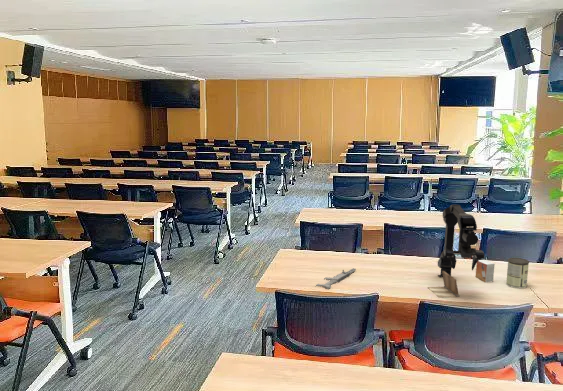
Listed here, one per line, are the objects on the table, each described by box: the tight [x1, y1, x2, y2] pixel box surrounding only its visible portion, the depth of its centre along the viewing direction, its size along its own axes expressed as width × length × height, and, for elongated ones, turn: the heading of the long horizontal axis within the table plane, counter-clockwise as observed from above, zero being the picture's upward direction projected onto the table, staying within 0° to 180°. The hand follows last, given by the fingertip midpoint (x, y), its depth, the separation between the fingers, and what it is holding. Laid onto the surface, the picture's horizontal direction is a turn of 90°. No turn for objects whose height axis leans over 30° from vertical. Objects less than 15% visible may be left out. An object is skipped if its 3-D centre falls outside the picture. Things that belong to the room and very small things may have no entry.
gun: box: [315, 267, 357, 290], centre depth 276 cm, size 36×4×10 cm
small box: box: [474, 259, 496, 283], centre depth 274 cm, size 8×6×10 cm
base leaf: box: [427, 285, 460, 299], centre depth 253 cm, size 14×11×2 cm
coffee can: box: [506, 257, 530, 289], centre depth 265 cm, size 10×10×14 cm
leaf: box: [442, 271, 459, 295], centre depth 253 cm, size 14×10×2 cm
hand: (462, 269), depth 248 cm, fingers open, 9 cm apart
